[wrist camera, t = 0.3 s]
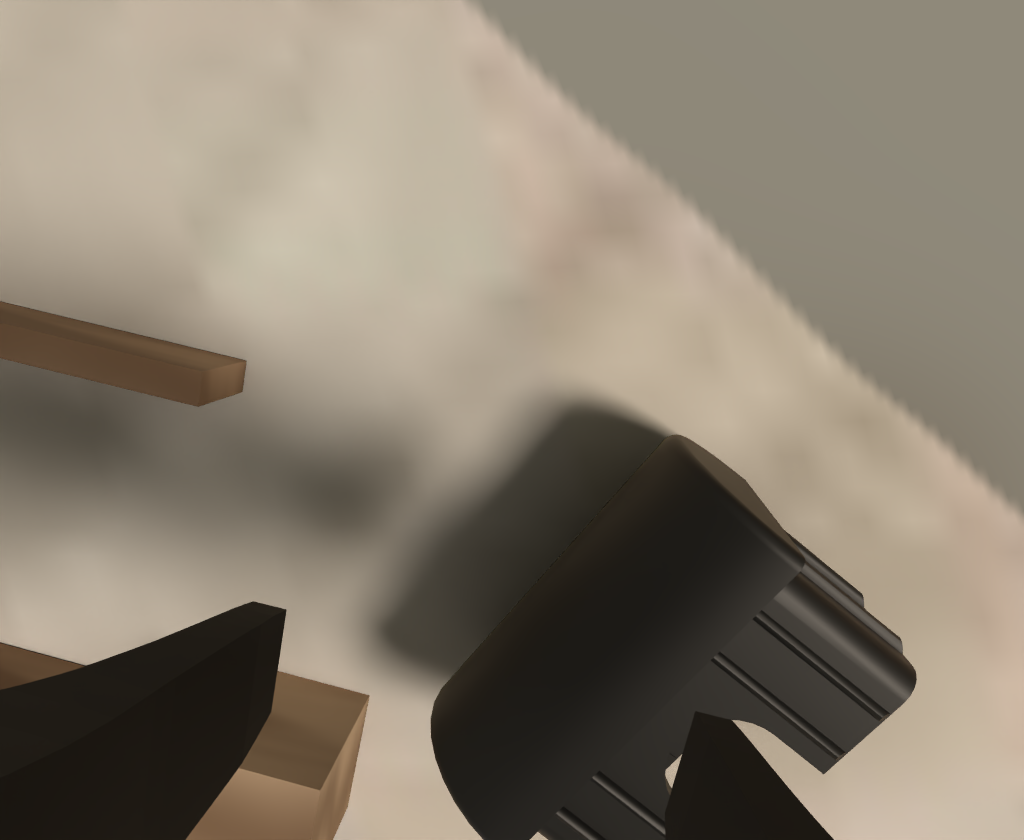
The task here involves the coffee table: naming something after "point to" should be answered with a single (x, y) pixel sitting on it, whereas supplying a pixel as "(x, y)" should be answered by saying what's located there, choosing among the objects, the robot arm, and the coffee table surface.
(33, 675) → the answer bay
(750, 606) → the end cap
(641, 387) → the coffee table surface
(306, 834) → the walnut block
